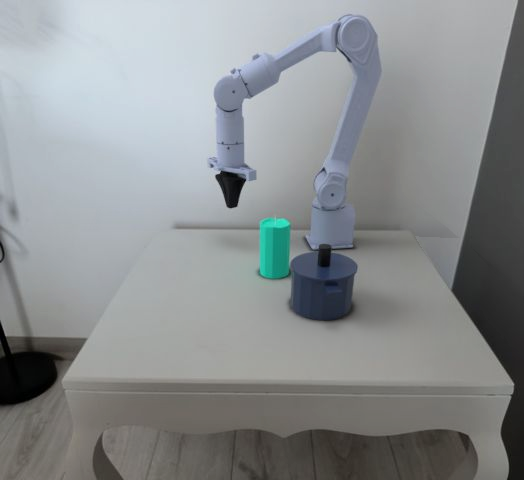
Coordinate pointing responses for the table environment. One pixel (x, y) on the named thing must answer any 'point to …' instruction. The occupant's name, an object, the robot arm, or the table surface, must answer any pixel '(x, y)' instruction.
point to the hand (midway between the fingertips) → (232, 207)
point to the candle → (274, 247)
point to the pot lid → (323, 265)
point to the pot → (321, 298)
